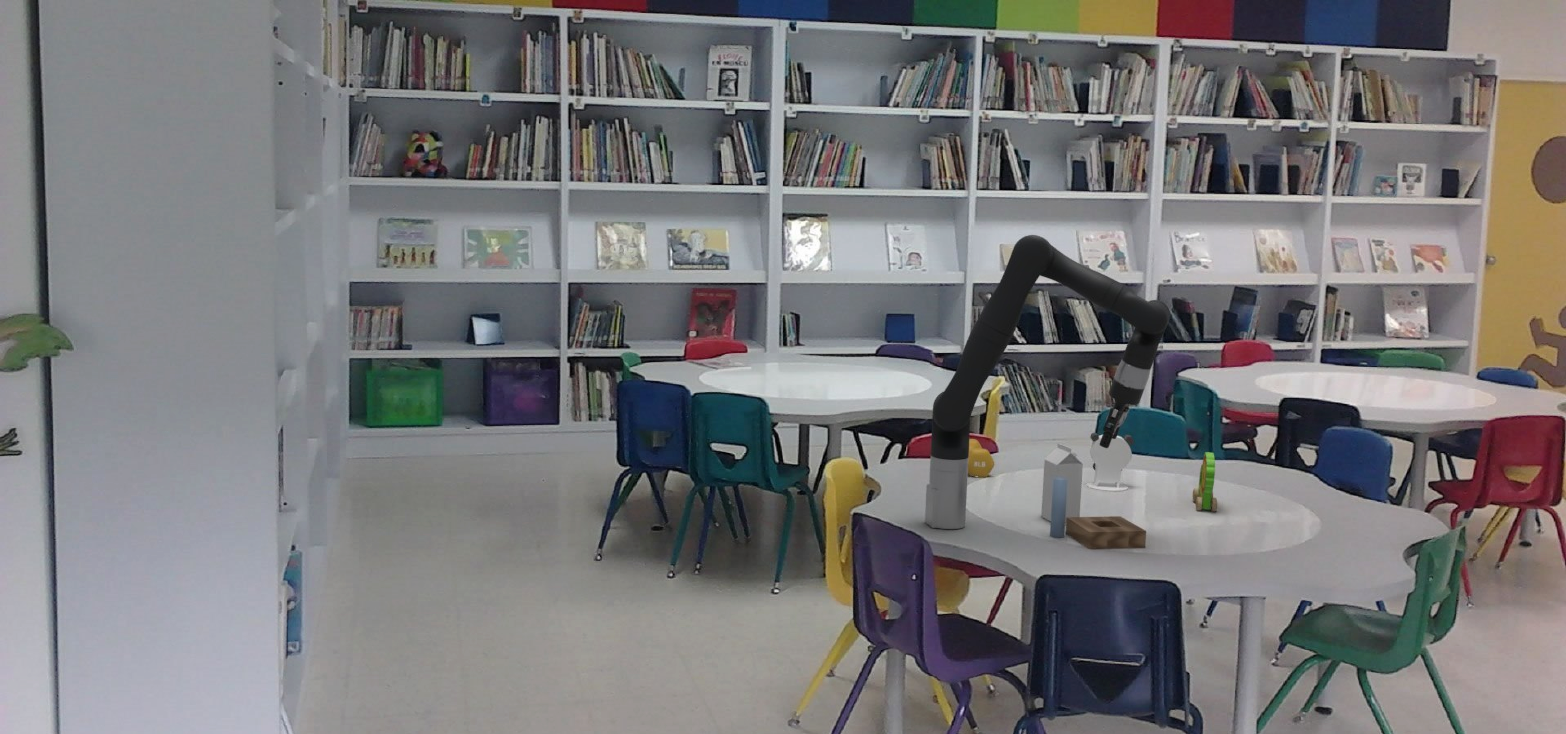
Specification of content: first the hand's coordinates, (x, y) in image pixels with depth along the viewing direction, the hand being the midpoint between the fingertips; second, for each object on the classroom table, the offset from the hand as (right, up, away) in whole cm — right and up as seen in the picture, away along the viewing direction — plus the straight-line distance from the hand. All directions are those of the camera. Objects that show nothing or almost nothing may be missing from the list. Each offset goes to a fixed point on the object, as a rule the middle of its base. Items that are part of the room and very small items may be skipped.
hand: (1107, 442), depth 331 cm
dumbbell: (-22, -13, +72) cm, 76 cm away
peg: (-12, -23, 0) cm, 26 cm away
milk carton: (-8, -21, +16) cm, 27 cm away
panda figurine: (+13, -16, +56) cm, 60 cm away
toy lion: (+34, -19, +35) cm, 52 cm away
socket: (-1, -23, -3) cm, 23 cm away
